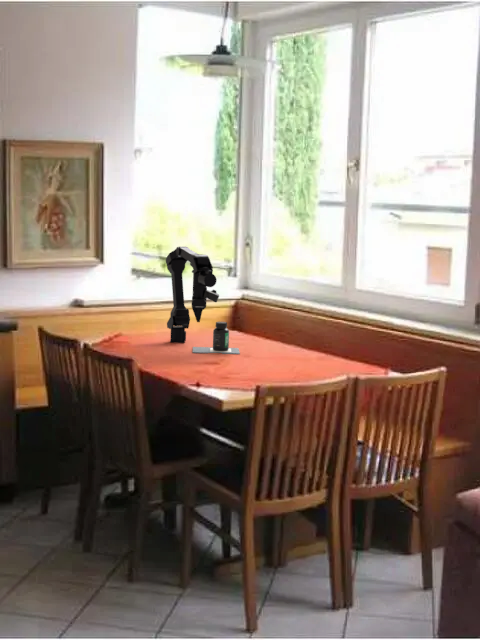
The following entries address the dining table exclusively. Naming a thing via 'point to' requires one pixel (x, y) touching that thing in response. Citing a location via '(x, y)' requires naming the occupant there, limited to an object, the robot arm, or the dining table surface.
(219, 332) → the supplement bottle
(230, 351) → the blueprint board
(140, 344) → the dining table surface
